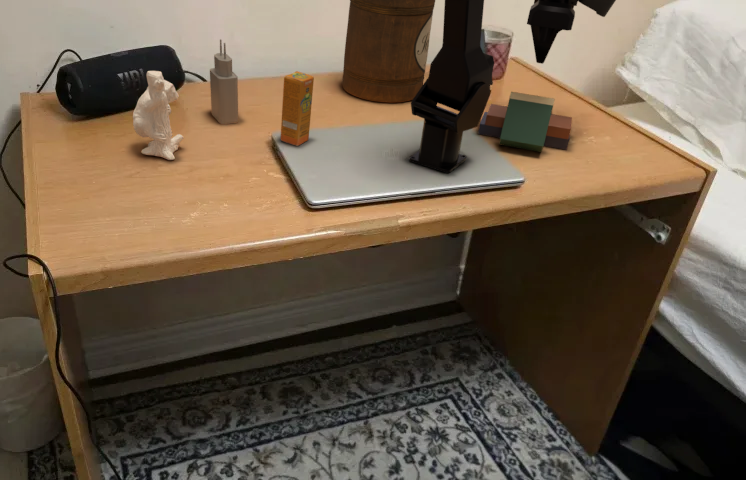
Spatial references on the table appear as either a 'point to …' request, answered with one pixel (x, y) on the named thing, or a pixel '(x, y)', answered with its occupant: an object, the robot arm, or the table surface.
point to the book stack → (555, 133)
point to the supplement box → (296, 108)
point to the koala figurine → (157, 116)
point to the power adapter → (224, 89)
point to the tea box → (526, 121)
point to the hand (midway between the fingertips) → (540, 62)
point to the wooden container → (387, 48)
